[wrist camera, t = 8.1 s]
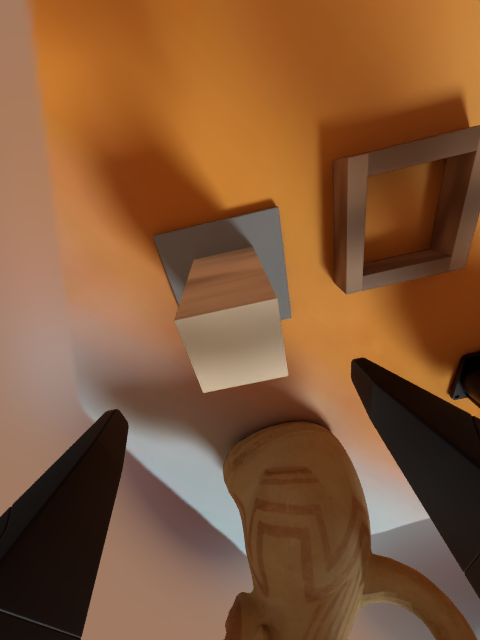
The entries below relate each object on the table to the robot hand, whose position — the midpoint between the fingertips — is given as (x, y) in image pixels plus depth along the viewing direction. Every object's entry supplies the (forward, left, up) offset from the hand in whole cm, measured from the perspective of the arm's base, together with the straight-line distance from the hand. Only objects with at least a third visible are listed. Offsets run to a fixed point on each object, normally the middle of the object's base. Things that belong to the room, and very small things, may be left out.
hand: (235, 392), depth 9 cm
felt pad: (0, 0, -12) cm, 12 cm away
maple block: (0, 0, -12) cm, 12 cm away
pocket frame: (+2, -13, -12) cm, 18 cm away
